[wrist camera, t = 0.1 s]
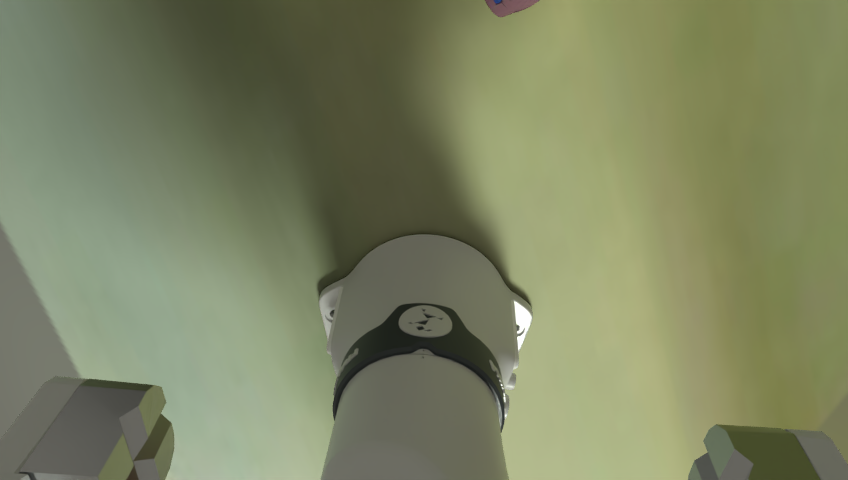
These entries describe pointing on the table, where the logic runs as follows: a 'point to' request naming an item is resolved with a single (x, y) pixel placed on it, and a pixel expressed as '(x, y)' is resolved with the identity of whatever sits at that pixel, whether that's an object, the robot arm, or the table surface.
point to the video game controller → (508, 6)
